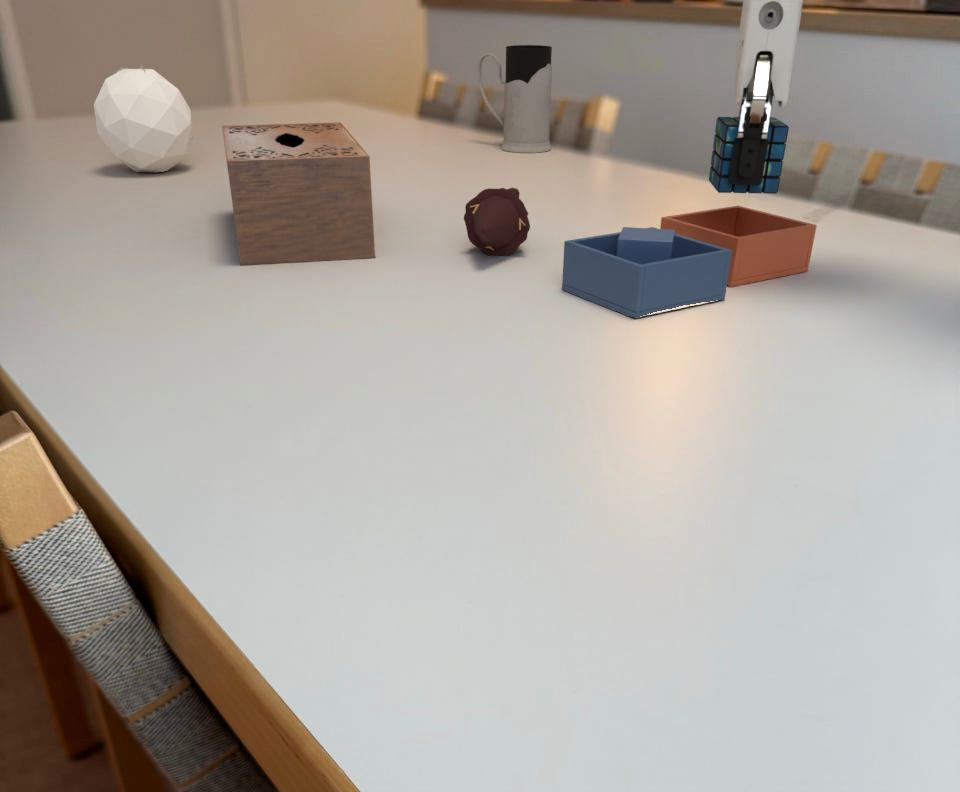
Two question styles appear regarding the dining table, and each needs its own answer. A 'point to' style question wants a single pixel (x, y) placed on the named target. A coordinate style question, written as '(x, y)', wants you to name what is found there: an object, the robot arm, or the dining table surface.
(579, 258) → the blue bin
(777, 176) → the puzzle
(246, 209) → the tissue box cover
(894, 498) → the dining table surface
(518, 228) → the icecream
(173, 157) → the geodesic sphere
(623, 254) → the blue block
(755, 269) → the terracotta bin
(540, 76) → the glass holder
